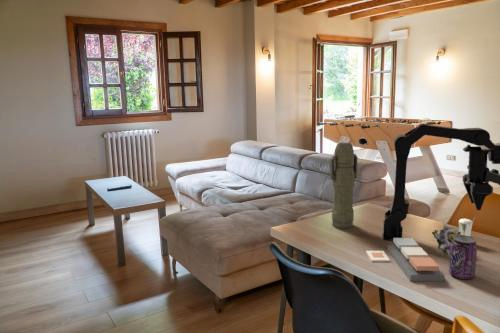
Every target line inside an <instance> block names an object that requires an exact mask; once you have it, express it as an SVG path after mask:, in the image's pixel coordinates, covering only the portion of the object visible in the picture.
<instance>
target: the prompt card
mask: <svg viewBox="0 0 500 333" xmlns="http://www.w3.org/2000/svg"><path fill="white" fill-rule="evenodd" d="M365 253H366V255H367V256H368V258H369V260H370V261H371V262H374V263H378V262H380V263H381V262H382V263H383V262H391V260H390V258H389V256H388V255H387V254H386V252H385V251H384V250H366V251H365Z"/></svg>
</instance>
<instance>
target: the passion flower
mask: <svg viewBox="0 0 500 333" xmlns="http://www.w3.org/2000/svg"><path fill="white" fill-rule="evenodd" d="M442 226H443V227H442V229H435V230H434V231H432V233H431V234H432V235H433V238H435V239H436V242H437V245H438V246H437V248H438V249H439V250H442V249H444V252H445V254H446V255H450V251H451V242H452V240H453V237H454V236H456V235H464V234H462V233H461V232H459V231H458V229H457V226H453V227H451V226H448V225H447V223H445V222H444V224H443V225H442Z"/></svg>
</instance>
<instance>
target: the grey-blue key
mask: <svg viewBox="0 0 500 333" xmlns="http://www.w3.org/2000/svg"><path fill="white" fill-rule="evenodd" d="M392 242H393V243H394V245H396V246H397V247H398V248H399V249H401V247H419V243H418V242H416V241H415V239H413V238H412V237H402V238H393V240H392Z"/></svg>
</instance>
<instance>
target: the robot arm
mask: <svg viewBox="0 0 500 333" xmlns="http://www.w3.org/2000/svg"><path fill="white" fill-rule="evenodd" d="M424 136H431V137H437V138H445V139H452V140H457V141H463V142H465V143H468V144H467V145H466V146H465V147H464V148H462V150H463V152H465V153H469V154H468V165H467V167H466V168H467V169H468V170H467V171H468V172H467V173H465V174H464V175H463V176H462V182H463V183H462V184H463V185H464V188H465V191H466V193H467V195H468V198H469V201H470V203H471V204H474V206H475V209H476V210H477V211H481V210H482V207H483V205H484V202H485V199H486V198H487V197H488V196H490V195H492V194H493V193H494V187H493V186H492V185H491V184H490V182H492V183H493V184H494V183H495V184H497V185H498V186H500V172H499V170H498V169H495V168H492V169H491V170H490V168H489V167H488V161H489V162H491V164H493V165H500V144H495V143H493V141H492V140H491V135H490V133H489V131H488V130H487V129H483V128H481V127H465V128H456V127H450V126H442V125H441V126H440V125H432V124H426V123H419V124H418V125H417V126H416V127H414V128H412V129H410V130H409V131H407V132H406V133H405V134H399V135H397V136H396V137H395V138H394V140H393V145H394V152H395V153H394V154H395V175H394V176H395V177H394V192H393V193H394V194H393V197H392V200H391V204H390V208H389V209H388V210H387V211H386V212H385V213H384V214H383V215H384V220H383V224H382V225H383V226H382V227H383V228H382V233H381V234H382V239H383V240H387V241H393V238H403V229H404V228H403V225H402V222H403V221H404V220H406V218H407V215H409V213H410V212H409V207H410V201H409V199H406V197H405V194H406V180H407V179H406V177H407V162H408V158H409V155H410V151H411V148H412V145H414V144H415V143H417V142H418V141H419V140H421V138H423V137H424ZM471 145H474V146H471ZM482 147H485V148H482Z"/></svg>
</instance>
